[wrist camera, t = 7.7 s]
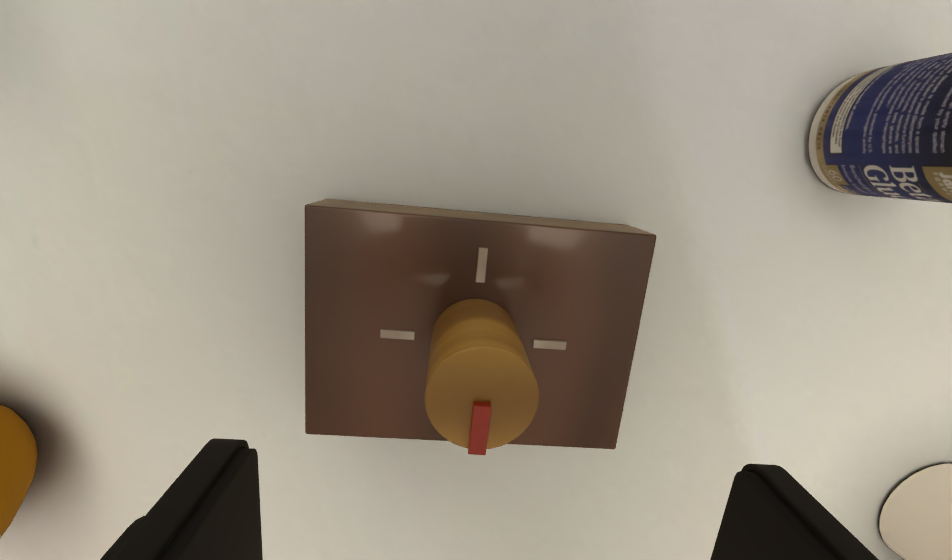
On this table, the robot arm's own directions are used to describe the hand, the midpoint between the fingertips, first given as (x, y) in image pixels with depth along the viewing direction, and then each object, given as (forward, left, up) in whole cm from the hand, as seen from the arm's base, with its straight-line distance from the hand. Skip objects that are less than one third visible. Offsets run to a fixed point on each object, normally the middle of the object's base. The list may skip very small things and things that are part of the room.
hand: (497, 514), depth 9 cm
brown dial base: (0, +1, -13) cm, 13 cm away
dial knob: (0, +1, -10) cm, 10 cm away
